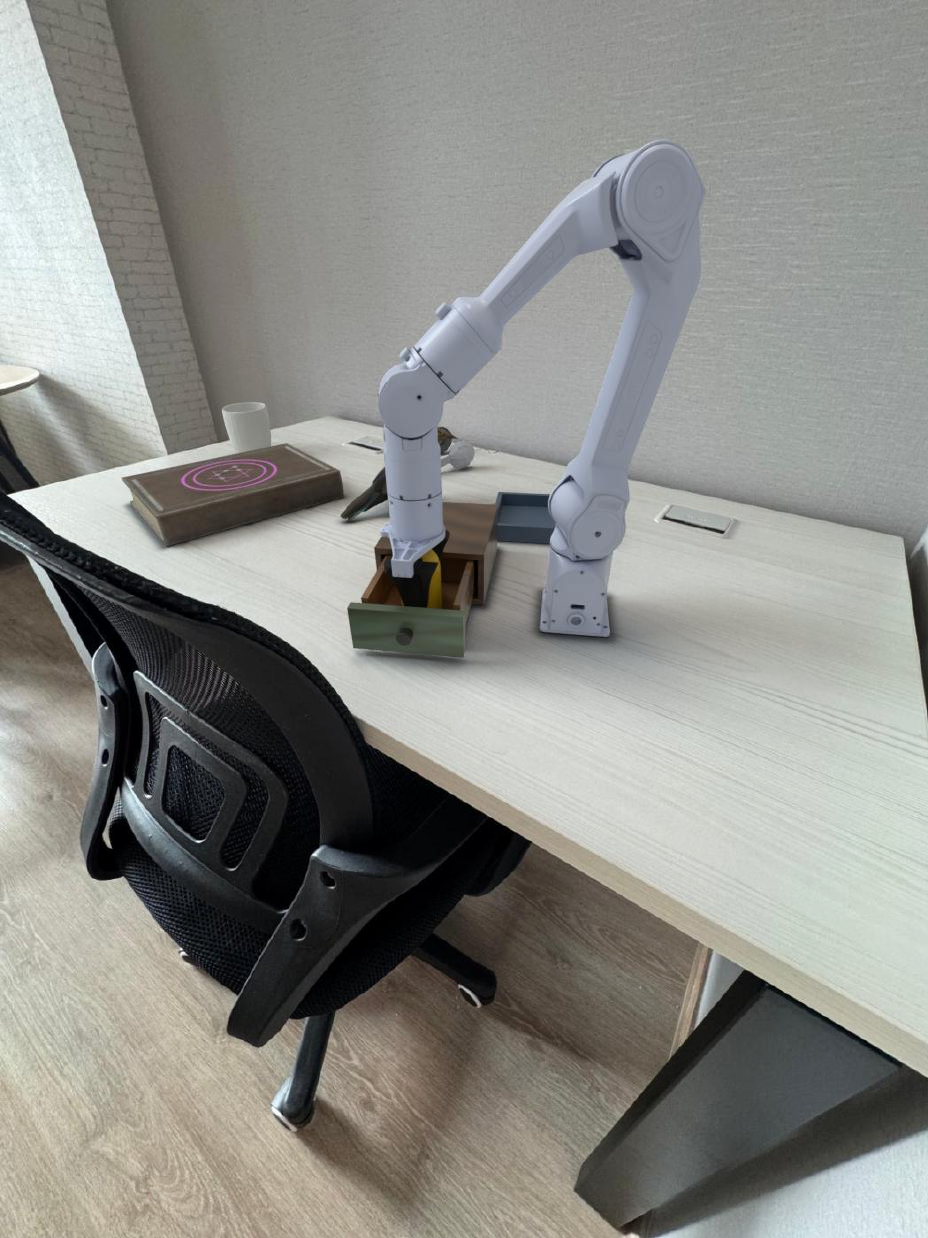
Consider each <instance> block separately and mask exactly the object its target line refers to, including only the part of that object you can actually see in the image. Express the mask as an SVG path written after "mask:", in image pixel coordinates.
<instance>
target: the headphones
mask: <svg viewBox="0 0 928 1238" xmlns="http://www.w3.org/2000/svg"><path fill="white" fill-rule="evenodd" d="M437 427H438V428H440V429H442V430H443V431H445V432H446V433H449V434H452V432H451V431H450V430H449V428H447V427H444V426H437ZM452 441H453V439H445V440H443V441H442V442H441V443H440V444H439V445H440V449H441V454H444V453H445V452H447V451H448V453H447V454H446V455H441V468H443V467H445V466H447V465H449V464H450V465H451V466H452V467H453V468H455V469H465V468H467V467H469V466H470V465H471V463H472V462H473V460H474V458H475V452H476V451H479V450H480V451H481V448H480V449H479V448H478V449H474V448H475V447H474V445H472V442H470V441H469V440H465V439H458V441H455V442H454V443H453V444H452ZM501 450H502V449H501V448H500V449H498V450H496V451H495V452H494V454H496V453H498V452H500V451H501ZM485 451H487V452H488V454H490V450H489V449H487V448H485Z"/></svg>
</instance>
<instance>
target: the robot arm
mask: <svg viewBox="0 0 928 1238" xmlns="http://www.w3.org/2000/svg"><path fill="white" fill-rule="evenodd" d="M702 179H703V178H702V177H701V175H700V173H699V170H698V168H697V167H696V164H695V162H694V159H693V158H692V156H691V154H690V152H689V151H688V150H687V149H686V147H684V146H683V145H682V144H680V143H679V142H677V141H675V140H671V139H665V138H663V139H657V140H653V141H650V142H648V143H647V142H646V143H645V144H644V145H642V146H641V147H640V148H638V149H636V150H634V151H631V152H628V153H621V154H618V155H614V156H611V157H609V158H608V159H606V160H604V161H603V162H602V163H601V164H600V165H599V166H598V167H597V168H596V169H595V171H594V172H593V173H592V175H591V176H590V178H588V179H587V178H586V179H585V180H583V181H582V182H581V183H579V184H578V185H577V186H575V188H574V189H572V191H571V192H569V194H567V195H566V196H565V198H563V200H561V201H560V202H559V204H557V205H556V206H555V207H554V208H553V209H552V210H551V212H550V213H549V214H548V215H547V217H546V218H545V219H544V220H543V221H542V223H540V225H539V226H538V228H537V229H535V231H533V233H532V235H531V236H530V237H529V238H528V239H527V240H526V241H525V242H524V244H523V245H522V246H521V247H520V248H519V249H518V251H517V252H516V253H515V254H514V255H513V256H512V257H511V259H510V260H509V261H508V263H507V264H506V265H504V267H503V268H502V270H501V271H499V273H498V274H497V275H496V276H495V277H494V279H493V280H492V281H491V282H490V283H489V285H488V286H487V287H486V288H485V289H484V290H483V292H482V293H481V294H480V295H479V296H475V297H474V296H458V297H456V298H455V300H454V301H453V302H452V303H451V304H450V305H449V304H448V303H447V302H445V301H444V302H442V303H441V304H440V306H438V307H437V309H436V310H435V311H434V314H435V315H436V317H437V320H435V322H434V323H433V324H432V325H431V326H430V327H429V329H428V330H427V331H426V332H425V333H424V334H423V336H421V338H420V339H419V340H418V341H417V342H416V343H415V344H414V345H413V347H411V349H409V348H408V347H407V346H405V347H404V348H403V349H402V350H401V352H399V358H400V360H401V361H402V363H401V364H395V365H394V366H392V367H390V368H389V369H388V370H387V371H386V372H385V373H384V374H383V376H382V378H381V380H380V383H379V388H378V393H377V397H378V398H377V399H378V401H377V402H378V404H377V406H378V411H379V415H380V418H381V420H382V421H383V428H382V438H383V442H384V443H385V444H384V446H383V451H382V452H383V461H384V467H385V473H386V484H387V493H388V500H387V504H388V514H389V523H385V524H383V525H382V526H381V528H380V529H379V532H380V537H381V536H382V537H388V538H390V542H391V547H392V552H393V556H388V557H387V558H386V560H385V562H384V570H385V573H386V574H387V575H388V576H389V577H390V579H391V580H392V581H393V583H394V584H395V586H396V587H397V589H398V592H399V594H400V596H401V599H402V602H403V605H404V606H407V607H420V608H427V606H428V599H429V589H430V583H431V579H432V576H433V574H434V572H435V570H436V568H437V566H438V562H424V561H423V558H421V559H420V557H421V556H423V555H424V554H425V553H427V552H428V551H429V550H431V549H432V550H433V551H434V552H435V553H436V554H437V556H438V558H439V561H440V560H441V556H442V553H443V549H444V547H445V545H446V543H447V541H448V539H449V536H450V532H449V531H448V530H445V526H444V524H443V503H442V502H443V483H442V467H441V456H442V453H441V449H440V445H439V444H438V434H437V427H439V425H440V423H441V420H442V419H443V418H442V417H443V413H444V403H445V402H447V401H449V400H453V399H454V398H455V397H456V396H457V395H458V394H459V393H461V391H462V390H463V389H464V388H465V387H466V386H467V385H468V384H469V383H470V382H471V381H472V380H473V379H474V378H475V376H477V375H478V373H479V372H481V371H482V370H483V368H485V367H486V365H487V364H488V363H489V362H490V361H491V360H493V358H494V357H495V356H496V355H497V354H498V353H499V352H500V351H501V349H502V345H503V332H504V328H505V325H506V324H507V323H508V322H509V321H510V320H511V319H512V318H513V317H514V316H515V315H516V314H517V313H518V312H519V311H521V309H523V308H524V307H525V306H526V305H527V304H528V303H529V302H530V301H531V300H532V299H533V298H534V297H535V296H536V295H537V294H538V293H539V292H540V291H541V290H542V289H543V288H544V287H545V286H546V285H548V283H550V281H552V280H553V278H554V277H556V276H557V275H558V274H559V273H560V272H561V271H562V270H563V269H564V268H565V267H566V266H567V265H568V264H569V263H570V262H571V261H573V259H575V258H577V257H578V256H581V255H585V254H586V255H587V254H589V253H594V252H597V251H600V250H604V249H609V250H611V252H612V253H613V254H614V255H615V256H616V257H617V258H618V261H619V262H620V264H621V266H622V269H623V271H624V272H625V275H626V277H627V278H628V281H629V282H630V285H631V286H632V294H631V296H630V297H631V298H630V300H629V303H628V306H627V310H626V312H625V315H624V317H623V318H624V319H623V320H622V324H621V327H620V330H619V333H618V337H617V339H616V342H615V346H614V348H613V351H612V355H611V358H610V360H609V363H608V367H607V370H606V372H605V375H604V378H603V381H602V385H601V388H600V390H599V393H598V397H597V399H596V403H595V405H594V408H593V412H592V415H591V418H590V420H589V424H588V426H587V430H586V433H585V435H584V439H583V442H582V444H581V448H580V451H579V454H577V456H575V457H574V458H573V459H572V460H571V461H570V462H568V464H567V466H566V469H565V471H564V474H563V476H562V478H561V479H560V481H559V482H558V483H556V485H555V486H554V487H553V488H552V489H551V491H550V493H549V494H550V496H549V499H548V510H549V513H550V516H551V517H552V519H553V520H554V521H555V522H556V526H555V530H554V532H553V534H552V536H551V538H550V544H549V549H548V550H549V551H548V562H547V575H546V587H545V588H543V589H542V595H541V596H542V597H541V606H540V607H541V610H540V622H539V631H540V632H542V633H552V634H564V635H577V636H589V637H603V638H607V637H609V636H610V634H611V629H610V621H609V620H610V619H609V610H608V599H607V594H608V588H609V581H610V575H611V570H612V569H611V568H612V563H613V562H612V561H613V555H614V551H615V550H617V549H618V548H619V546H620V545H621V543H622V542H623V541H624V538H625V537H626V536H625V535H626V531H627V523H626V513H627V508H628V506H629V503H630V501H631V496H630V494H631V493H630V485H629V477H628V471H629V467H630V465H631V462H632V459H633V457H634V454H635V451H636V449H637V447H638V443H639V442H640V439H641V436H642V433H643V430H644V428H645V425H646V422H647V420H648V417H649V415H650V412H651V409H652V407H653V404H654V402H655V399H656V396H657V394H658V391H659V389H660V386H661V385H662V384H661V383H662V380H663V378H664V376H665V373H666V371H667V368H668V365H669V363H670V360H671V357H672V355H673V352H674V350H675V347H676V344H677V342H678V340H679V338H680V337H679V336H680V334H681V331H682V329H683V326H684V323H685V321H686V317H687V315H688V313H689V310H690V308H691V305H692V302H693V301H694V297H695V295H696V293H697V290H698V287H699V283H700V279H701V275H702V268H701V267H702V265H701V262H702V261H701V228H700V224H701V223H700V212H701V209H702V207H703V204H704V200H705V197H706V195H707V189H706V188H707V187H706V186H705V184H704V182H703V180H702Z"/></svg>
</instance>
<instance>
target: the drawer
mask: <svg viewBox="0 0 928 1238" xmlns="http://www.w3.org/2000/svg"><path fill="white" fill-rule="evenodd" d="M388 556H393V555H389V554H386V556H385V558H384V560H383V561H382V563H381V565H380V566H379V568H378V570H377V569H376V572H375V573H374V575H373V576H372V578H371V580H370V582H369V583H368V585H367V587H366V589H365V590H364V592H363V594H362V596H361V597H360V601H361V602H352V601H351V602H350V603H349V604H348V606H347V607H346V610H347V616H348V624H349V628H350V629H349V631H350V637H351V642H352V648H353V649H357V650H370V651H380V652H393V653H403V654H413V655H414V654H415V655H426V656H436V657H438V656H439V657H451V658H458V659H459V658H461V659H464V658H465V656H466V651H467V650H466V625H467V622H468V618H469V614H470V610H471V606H472V605H473V604H472V600H473V596H474V593H475V589H476V560H468V559H452V558H441V560H440V565H441V587H442V609H433V608H420V607H407V606H402V605H401V596H400V594H399V592H398V589H397V587H396V586H395V584H394V583H393V581H392V580H391V579H390V577H389V576H388V575H387V574H386V573H385V570H384V562H385V560H386V558H387V557H388Z"/></svg>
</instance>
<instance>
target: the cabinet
mask: <svg viewBox="0 0 928 1238" xmlns="http://www.w3.org/2000/svg"><path fill="white" fill-rule="evenodd" d="M442 503H443V524H444V526H445V530H448V531H449V532H450V536H449V539H448V541H447V543H446V545H445V547H444V549H443V553H442V556H441V558H452V559H468V560H476V589H475V593H474V596H473V600H472V604H471V605H480V606H483V605H485V602H486V598H487V597H486V596H487V593H488V589H489V585H490V581H491V577H492V572H493V568H494V564H495V559H496V556H497V552H498V541H497V530H498V504H495V503H476V502H475V503H474V502H455V501H442ZM373 552H374V558H375V559H374V560H375V567H376V568H375V569H376V571H377V570H378V568H379V566H380V565H381V563H382V561H383V560H384V558H385V556H386V554H389V555H393V552H392V547H391V542H390V538H388V537H382V536H381V535H380V538H379V540H378V541H377V542H376V544H375V545H374V548H373Z"/></svg>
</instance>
